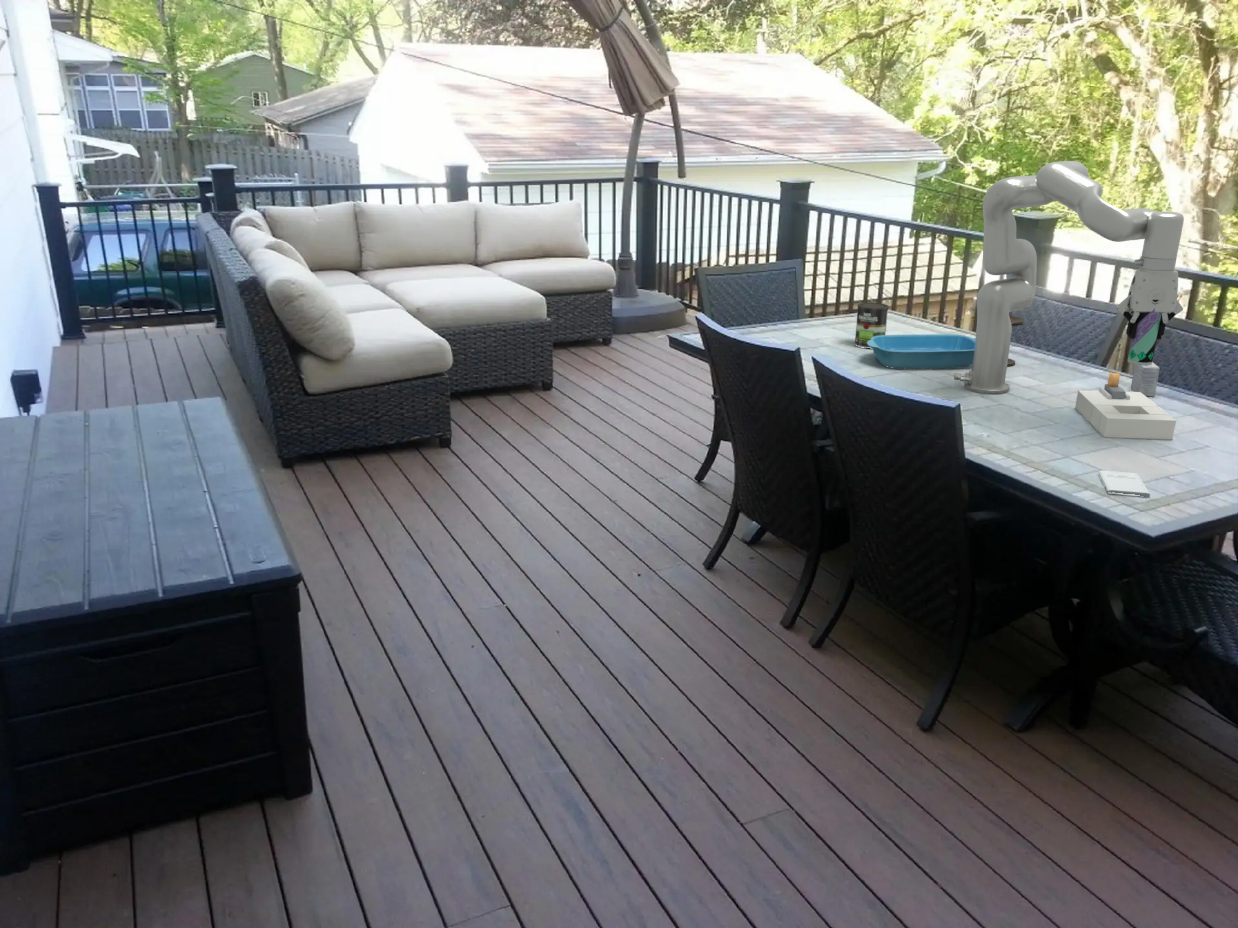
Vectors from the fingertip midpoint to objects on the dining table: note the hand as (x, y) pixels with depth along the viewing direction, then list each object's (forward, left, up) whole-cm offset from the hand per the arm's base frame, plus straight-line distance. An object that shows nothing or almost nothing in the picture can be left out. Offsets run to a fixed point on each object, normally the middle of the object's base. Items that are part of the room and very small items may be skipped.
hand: (1144, 337), depth 239 cm
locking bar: (0, +13, -19) cm, 23 cm away
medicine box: (+15, +34, -24) cm, 44 cm away
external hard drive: (-14, -41, -25) cm, 50 cm away
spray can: (0, 0, -7) cm, 7 cm away
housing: (0, +5, -24) cm, 24 cm away
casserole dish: (-42, +63, -24) cm, 80 cm away
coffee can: (-57, +84, -24) cm, 104 cm away
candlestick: (-18, +64, -24) cm, 71 cm away
